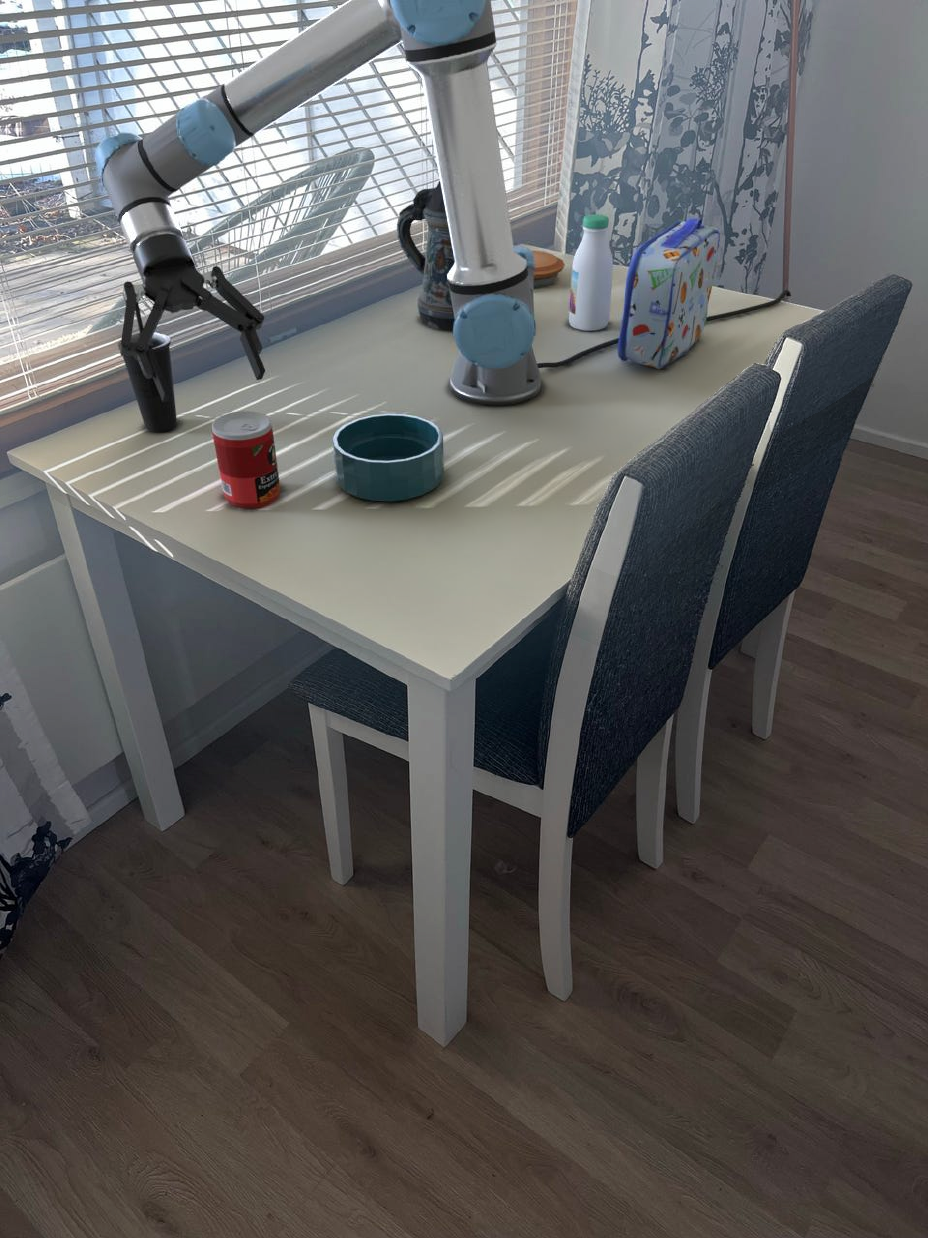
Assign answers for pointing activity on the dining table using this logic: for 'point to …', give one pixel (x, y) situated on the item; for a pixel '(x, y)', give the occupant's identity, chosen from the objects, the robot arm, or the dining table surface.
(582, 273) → the milk bottle
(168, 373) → the drinking cup
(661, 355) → the lunch box
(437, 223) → the beer stein
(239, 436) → the canned food
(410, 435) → the teal pet bowl
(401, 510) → the dining table surface
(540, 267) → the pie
